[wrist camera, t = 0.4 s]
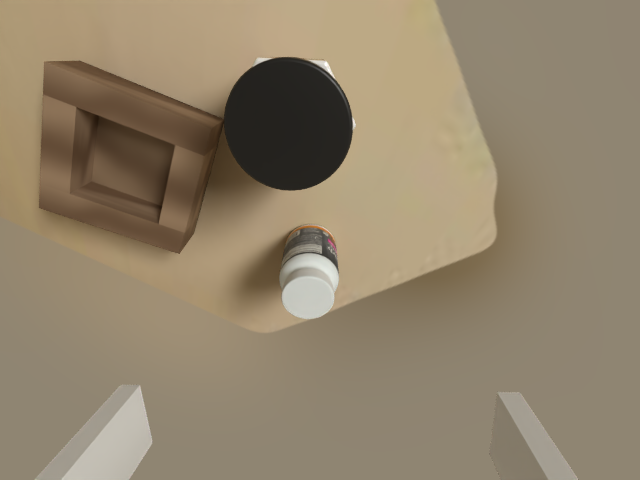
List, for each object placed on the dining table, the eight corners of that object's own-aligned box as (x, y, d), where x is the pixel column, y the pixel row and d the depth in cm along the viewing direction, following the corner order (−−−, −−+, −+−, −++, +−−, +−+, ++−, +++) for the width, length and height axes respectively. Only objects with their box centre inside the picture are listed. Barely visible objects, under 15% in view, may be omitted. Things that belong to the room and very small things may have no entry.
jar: (252, 148, 34) (222, 190, 24) (247, 54, 30) (209, 53, 20) (343, 152, 34) (354, 195, 24) (349, 59, 31) (366, 60, 20)
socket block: (79, 60, 31) (44, 61, 27) (224, 119, 33) (211, 128, 29) (69, 191, 36) (39, 207, 32) (193, 233, 38) (179, 253, 35)
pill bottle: (340, 261, 40) (345, 319, 32) (291, 269, 41) (284, 328, 32) (331, 217, 38) (334, 266, 29) (279, 227, 38) (268, 278, 29)
